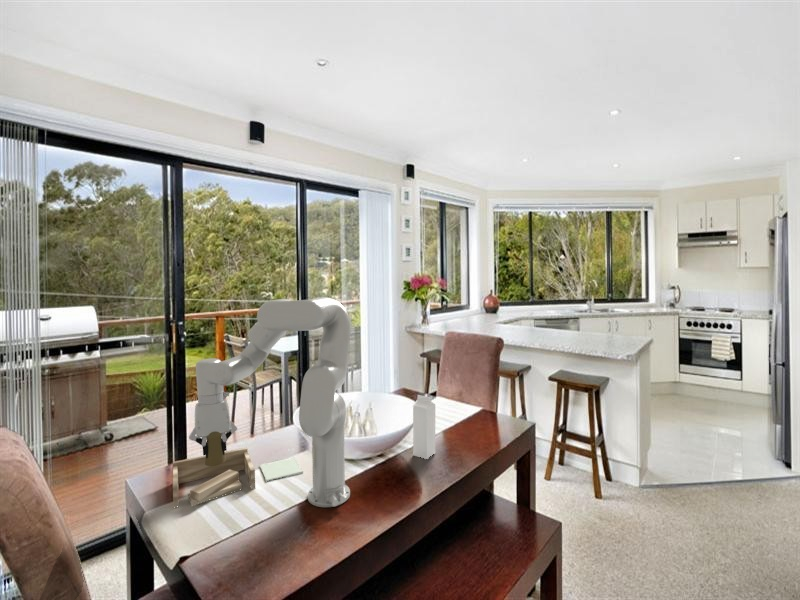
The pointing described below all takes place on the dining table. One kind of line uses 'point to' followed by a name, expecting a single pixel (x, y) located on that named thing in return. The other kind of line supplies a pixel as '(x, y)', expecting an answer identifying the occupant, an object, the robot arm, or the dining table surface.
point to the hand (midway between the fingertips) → (215, 454)
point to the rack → (211, 469)
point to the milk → (423, 427)
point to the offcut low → (220, 492)
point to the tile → (280, 469)
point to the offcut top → (214, 485)
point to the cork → (214, 449)
